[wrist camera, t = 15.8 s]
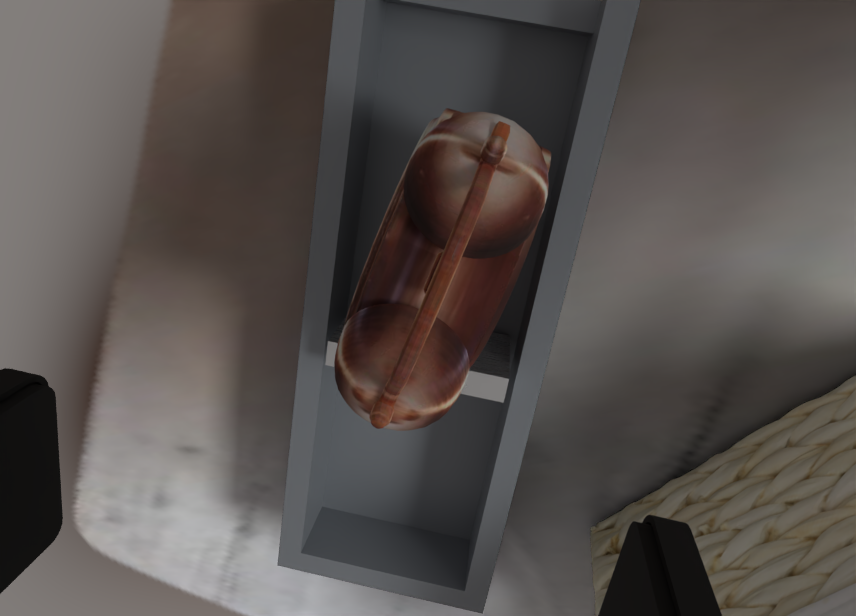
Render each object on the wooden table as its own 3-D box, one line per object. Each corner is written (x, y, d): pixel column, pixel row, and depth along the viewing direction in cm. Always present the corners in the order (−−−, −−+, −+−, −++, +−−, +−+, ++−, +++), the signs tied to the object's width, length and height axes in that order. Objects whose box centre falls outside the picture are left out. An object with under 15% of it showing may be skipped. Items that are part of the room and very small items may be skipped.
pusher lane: (627, 14, 28) (648, 1, 23) (491, 550, 38) (488, 614, 34) (362, -30, 29) (332, -51, 24) (301, 506, 39) (272, 563, 35)
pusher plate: (510, 335, 32) (509, 379, 28) (505, 357, 33) (503, 402, 28) (354, 304, 33) (328, 340, 28) (352, 325, 33) (325, 364, 29)
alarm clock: (444, 117, 30) (432, 49, 15) (539, 157, 30) (619, 129, 15) (360, 326, 32) (276, 447, 17) (448, 362, 32) (441, 513, 17)
